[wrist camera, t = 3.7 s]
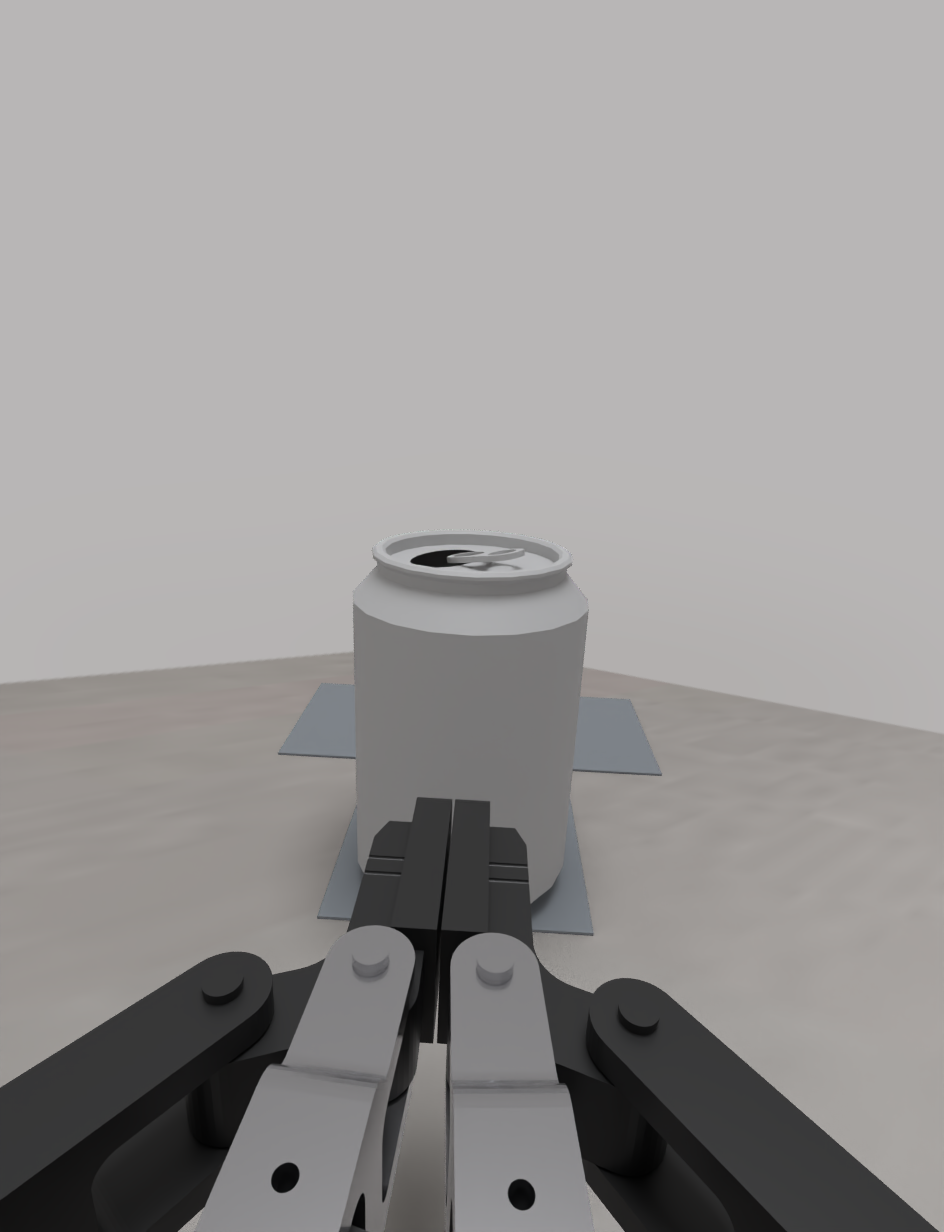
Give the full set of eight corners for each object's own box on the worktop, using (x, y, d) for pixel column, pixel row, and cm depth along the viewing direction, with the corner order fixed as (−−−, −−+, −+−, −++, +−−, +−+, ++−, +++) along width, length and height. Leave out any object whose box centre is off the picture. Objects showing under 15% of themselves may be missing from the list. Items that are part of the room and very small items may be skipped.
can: (441, 783, 29) (448, 513, 26) (596, 851, 25) (633, 542, 22) (312, 875, 23) (297, 542, 20) (488, 983, 19) (512, 590, 16)
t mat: (629, 704, 38) (629, 699, 38) (732, 949, 21) (733, 941, 21) (321, 687, 39) (321, 682, 39) (182, 914, 22) (181, 906, 22)
